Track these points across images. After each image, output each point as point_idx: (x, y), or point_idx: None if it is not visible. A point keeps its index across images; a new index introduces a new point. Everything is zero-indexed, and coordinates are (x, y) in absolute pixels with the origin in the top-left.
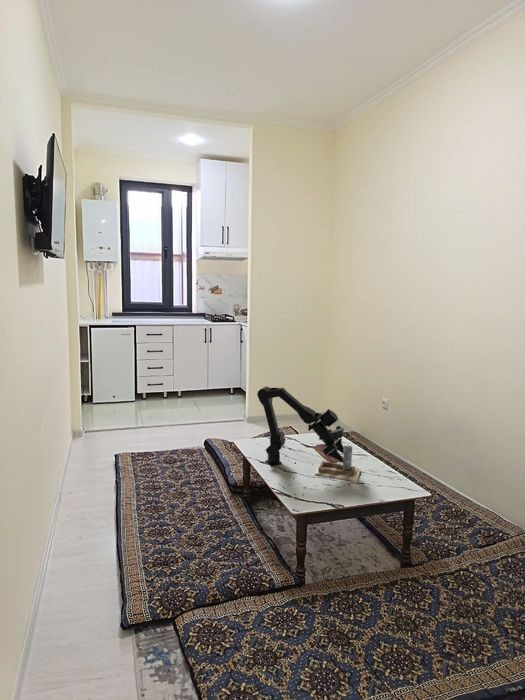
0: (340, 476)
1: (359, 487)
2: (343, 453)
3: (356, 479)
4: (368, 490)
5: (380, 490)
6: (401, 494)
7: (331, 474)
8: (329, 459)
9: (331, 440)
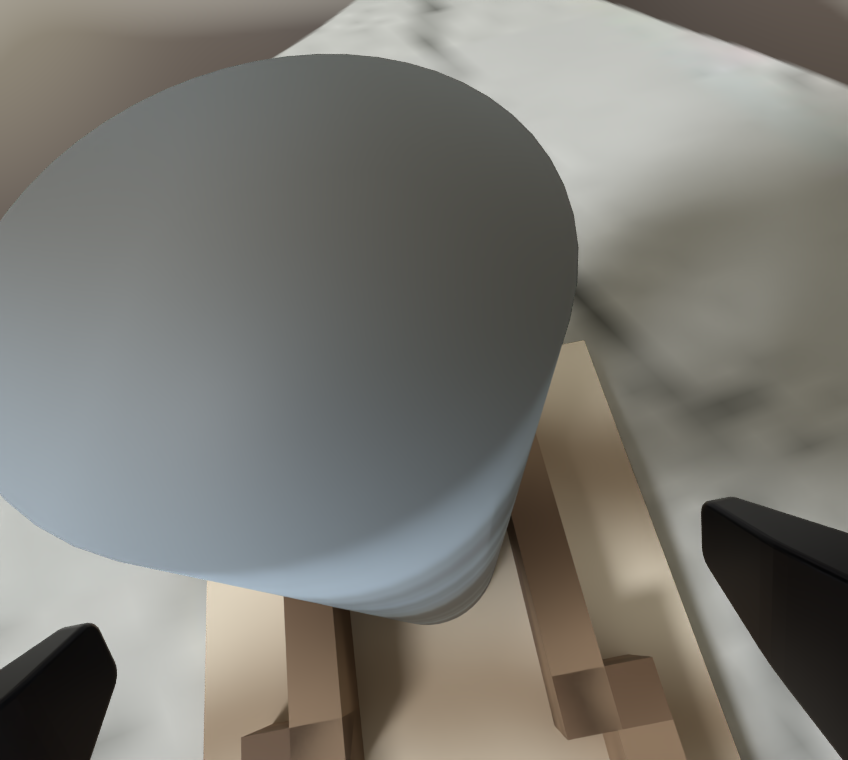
0: (648, 582)
1: (707, 279)
2: (428, 590)
3: (580, 344)
4: (701, 192)
5: (611, 123)
6: (564, 12)
7: None
8: None
9: None
